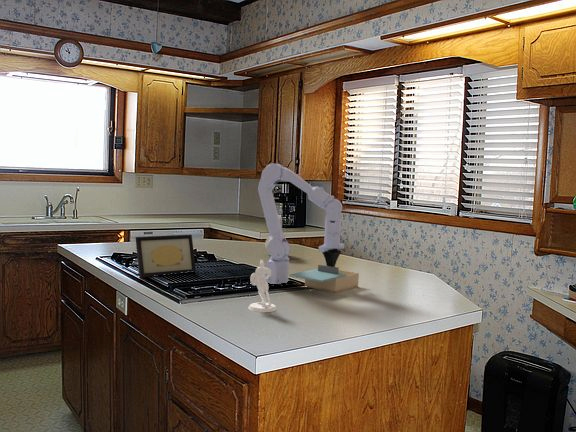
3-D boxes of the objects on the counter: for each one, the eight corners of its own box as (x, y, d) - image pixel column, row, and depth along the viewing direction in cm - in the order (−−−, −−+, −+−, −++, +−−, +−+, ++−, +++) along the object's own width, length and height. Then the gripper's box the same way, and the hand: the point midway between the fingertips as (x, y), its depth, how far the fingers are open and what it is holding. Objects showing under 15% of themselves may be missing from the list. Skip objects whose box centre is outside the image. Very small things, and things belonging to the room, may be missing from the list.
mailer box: (335, 292, 203) (336, 278, 202) (304, 286, 210) (305, 273, 210) (358, 286, 215) (358, 273, 215) (328, 281, 223) (329, 268, 223)
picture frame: (141, 278, 212) (140, 237, 212) (130, 276, 218) (129, 236, 218) (196, 273, 226) (195, 234, 226) (184, 271, 233) (183, 234, 233)
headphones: (287, 259, 270) (289, 216, 268) (265, 258, 269) (267, 215, 267) (284, 253, 288) (286, 213, 286) (264, 252, 287) (266, 212, 286)
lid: (321, 282, 194) (321, 273, 194) (289, 276, 202) (289, 268, 202) (346, 276, 208) (347, 268, 207) (315, 270, 215) (315, 263, 215)
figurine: (242, 307, 176) (244, 258, 174) (263, 303, 182) (265, 256, 181) (261, 313, 170) (263, 262, 168) (283, 309, 176) (285, 260, 174)
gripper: (331, 235, 202) (329, 273, 203) (352, 232, 213) (350, 269, 215) (314, 233, 206) (312, 270, 207) (335, 230, 218) (334, 266, 219)
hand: (330, 269), depth 211 cm, fingers closed
